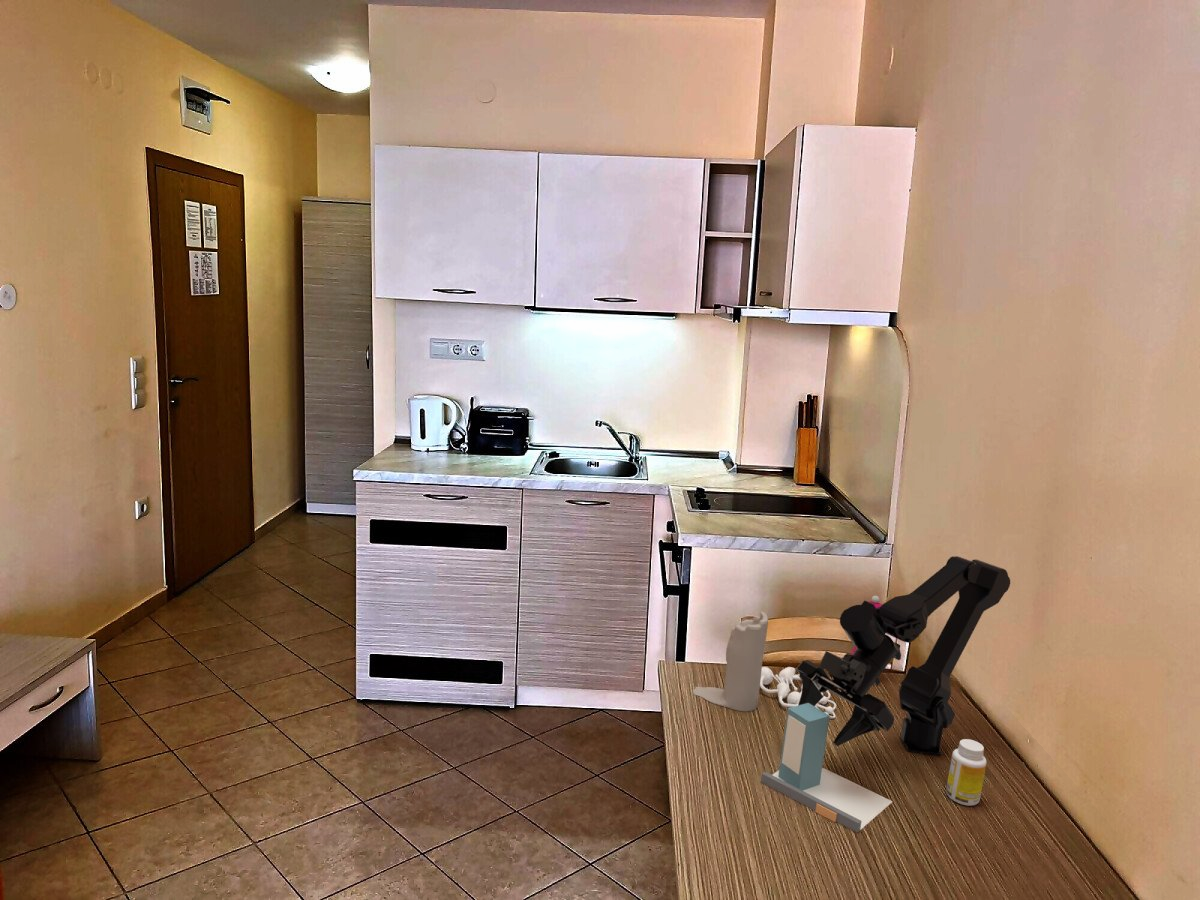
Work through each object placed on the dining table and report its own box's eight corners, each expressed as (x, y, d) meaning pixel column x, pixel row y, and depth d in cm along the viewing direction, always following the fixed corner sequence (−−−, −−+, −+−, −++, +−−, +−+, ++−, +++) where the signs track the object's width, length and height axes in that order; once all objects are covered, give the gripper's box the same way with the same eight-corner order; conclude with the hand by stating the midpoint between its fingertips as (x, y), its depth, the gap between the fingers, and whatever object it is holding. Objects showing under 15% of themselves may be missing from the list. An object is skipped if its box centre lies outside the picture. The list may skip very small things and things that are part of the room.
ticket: (815, 815, 143) (817, 803, 142) (835, 825, 140) (837, 813, 140) (814, 815, 143) (816, 803, 142) (834, 826, 140) (836, 814, 140)
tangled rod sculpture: (854, 725, 178) (858, 707, 178) (794, 726, 173) (799, 708, 172) (802, 680, 196) (806, 663, 195) (747, 680, 191) (751, 663, 190)
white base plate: (798, 762, 159) (800, 748, 159) (891, 807, 148) (894, 793, 147) (760, 788, 150) (762, 773, 149) (856, 839, 138) (858, 823, 138)
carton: (798, 770, 155) (808, 702, 152) (819, 784, 150) (829, 715, 148) (777, 776, 152) (787, 708, 149) (798, 791, 148) (808, 721, 145)
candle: (698, 683, 188) (708, 596, 184) (761, 701, 182) (772, 611, 178) (687, 696, 181) (697, 606, 178) (751, 715, 176) (763, 622, 172)
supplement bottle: (986, 803, 151) (996, 750, 149) (963, 809, 149) (973, 755, 147) (960, 786, 156) (970, 734, 154) (938, 791, 154) (947, 739, 152)
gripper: (810, 617, 158) (758, 683, 154) (893, 659, 143) (837, 733, 139) (834, 651, 164) (784, 716, 160) (916, 694, 149) (863, 767, 145)
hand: (815, 731), depth 151 cm, fingers open, 9 cm apart
